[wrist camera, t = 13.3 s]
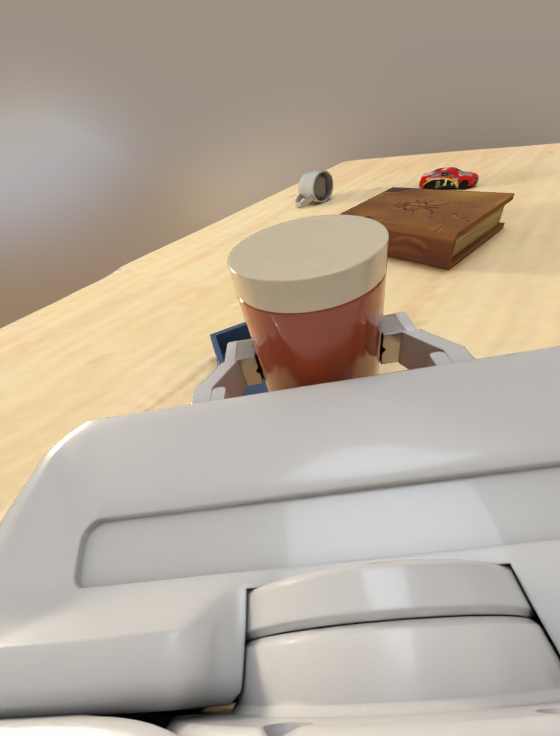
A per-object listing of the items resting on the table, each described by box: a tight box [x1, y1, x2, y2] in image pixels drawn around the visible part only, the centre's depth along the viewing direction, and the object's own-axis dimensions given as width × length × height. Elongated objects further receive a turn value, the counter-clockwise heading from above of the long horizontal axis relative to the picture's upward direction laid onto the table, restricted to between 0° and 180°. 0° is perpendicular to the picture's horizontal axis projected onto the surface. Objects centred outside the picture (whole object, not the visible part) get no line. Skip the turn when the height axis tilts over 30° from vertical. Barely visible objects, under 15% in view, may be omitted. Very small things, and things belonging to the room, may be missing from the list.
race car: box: [419, 167, 478, 189], centre depth 72 cm, size 13×5×4 cm, turn 50°
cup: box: [228, 215, 389, 392], centre depth 14 cm, size 6×6×12 cm
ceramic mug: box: [295, 170, 333, 208], centre depth 83 cm, size 11×8×8 cm
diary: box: [339, 187, 514, 269], centre depth 53 cm, size 23×19×6 cm
